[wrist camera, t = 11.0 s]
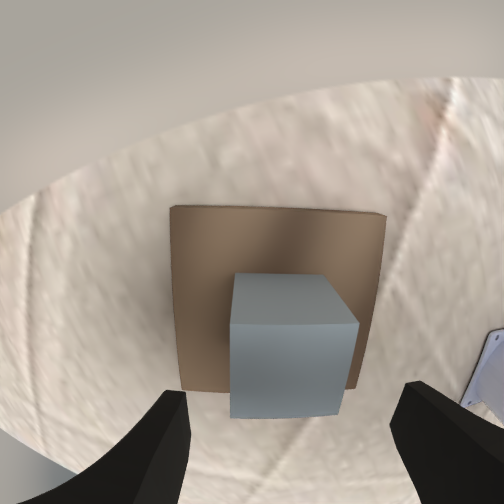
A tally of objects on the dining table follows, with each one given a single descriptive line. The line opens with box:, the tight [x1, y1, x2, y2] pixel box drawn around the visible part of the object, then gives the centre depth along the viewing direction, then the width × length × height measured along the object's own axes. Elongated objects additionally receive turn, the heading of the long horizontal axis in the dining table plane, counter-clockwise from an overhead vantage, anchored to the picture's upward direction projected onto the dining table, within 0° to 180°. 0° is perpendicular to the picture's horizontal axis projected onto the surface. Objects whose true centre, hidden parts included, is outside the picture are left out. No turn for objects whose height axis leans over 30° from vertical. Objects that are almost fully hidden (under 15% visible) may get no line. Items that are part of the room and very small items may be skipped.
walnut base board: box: [170, 205, 387, 393], centre depth 16 cm, size 11×11×1 cm
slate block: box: [230, 273, 360, 419], centre depth 13 cm, size 4×4×6 cm
